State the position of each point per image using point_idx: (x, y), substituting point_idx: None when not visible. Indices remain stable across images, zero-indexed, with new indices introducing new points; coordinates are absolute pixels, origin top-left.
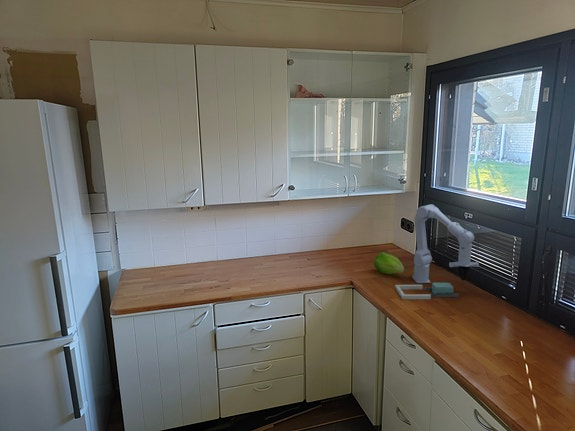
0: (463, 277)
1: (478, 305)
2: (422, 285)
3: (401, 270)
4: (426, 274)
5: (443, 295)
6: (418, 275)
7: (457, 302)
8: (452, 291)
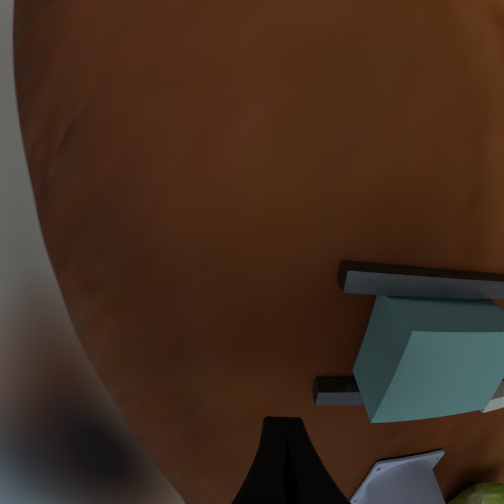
0: (295, 447)
1: (255, 63)
2: (487, 404)
3: (485, 494)
4: (409, 498)
5: (466, 276)
6: (438, 486)
7: (415, 154)
8: (402, 307)
